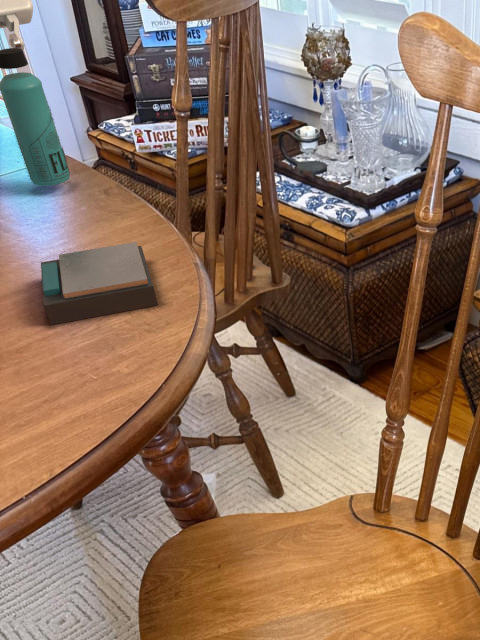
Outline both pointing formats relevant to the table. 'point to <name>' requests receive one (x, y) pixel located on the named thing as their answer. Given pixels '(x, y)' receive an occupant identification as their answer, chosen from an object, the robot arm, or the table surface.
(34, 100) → the beverage bottle
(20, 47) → the robot arm
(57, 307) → the kitchen scale
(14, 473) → the table surface
